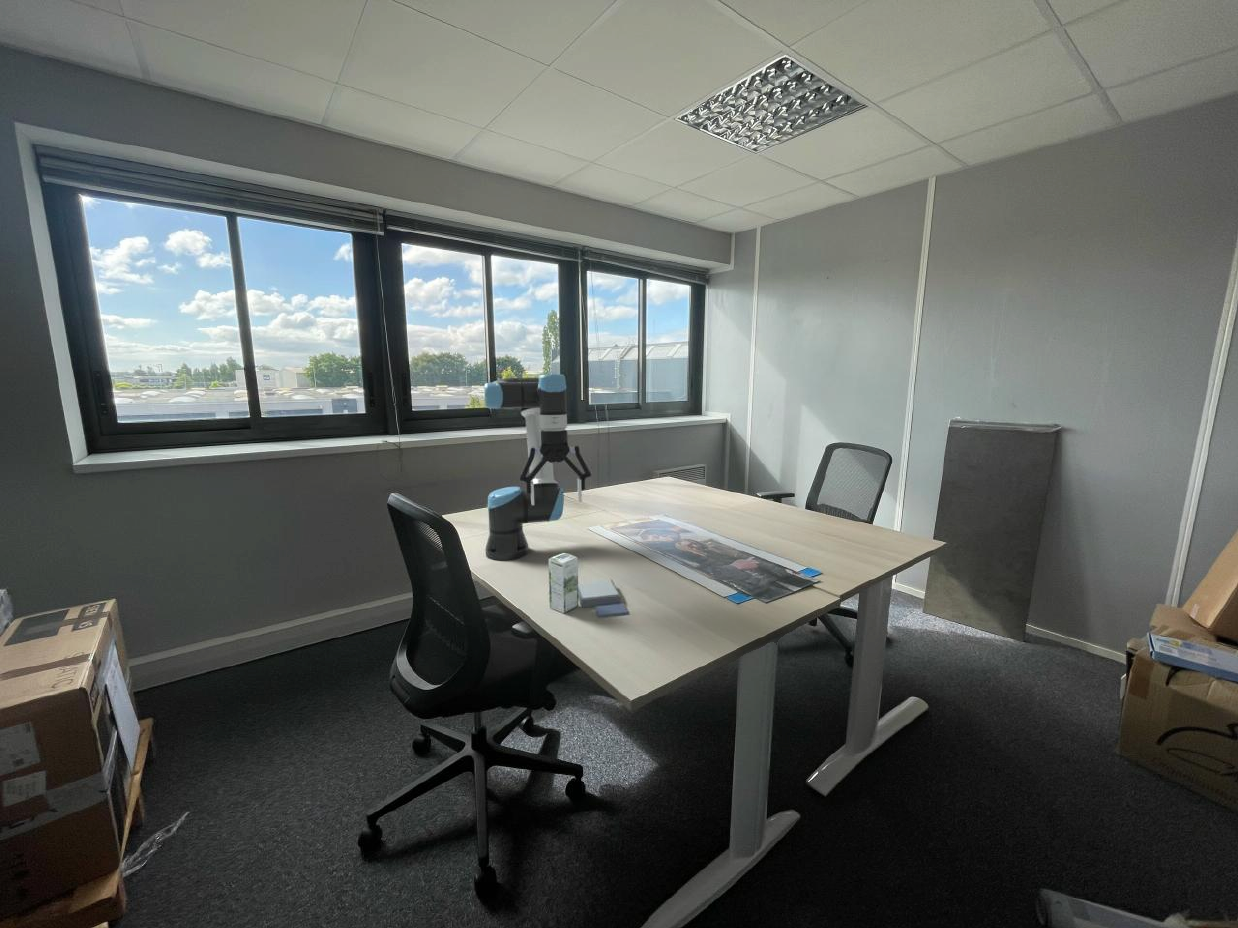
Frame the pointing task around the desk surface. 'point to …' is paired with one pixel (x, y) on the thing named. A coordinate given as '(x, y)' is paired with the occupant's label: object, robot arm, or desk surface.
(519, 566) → the desk surface
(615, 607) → the navy notebook
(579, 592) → the podium
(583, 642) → the desk surface
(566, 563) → the syrup box
